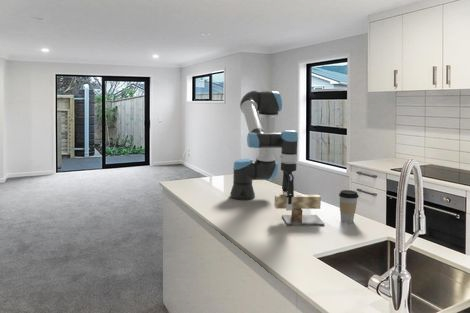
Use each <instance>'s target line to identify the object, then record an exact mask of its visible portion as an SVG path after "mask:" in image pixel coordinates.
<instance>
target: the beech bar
mask: <svg viewBox="0 0 470 313" xmlns="http://www.w3.org/2000/svg"><path fill="white" fill-rule="evenodd" d="M286 196H287V195H283V194H274V208H275V209H277V210H278V209H280V210H281V209H284V210H286V201H287V197H286ZM321 200H322V197H321V195H319V194H294V197H293V199H292V209H302V210H304V209H306V210H309V209H310V210H313V209H315V210H318V209H321V202H322V201H321Z"/></svg>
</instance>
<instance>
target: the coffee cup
mask: <svg viewBox="0 0 470 313" xmlns="http://www.w3.org/2000/svg"><path fill="white" fill-rule="evenodd" d="M338 196H339V211H340V213H339V214H340V221H341V222H342V223H345V224H351V223H354V218H355V213H356V209H357V204H358V199H359V196H360V195H359V194H358V192H357V191H356V190H349V189H343V190H340V192H339V193H338Z"/></svg>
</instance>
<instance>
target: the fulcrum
mask: <svg viewBox="0 0 470 313" xmlns="http://www.w3.org/2000/svg"><path fill="white" fill-rule="evenodd" d="M281 217H282V219H283V221H284V223H285V224H286V226H287V227H299V226H301V227H302V226H303V227H309V226H311V227H313V226H314V227H315V226H316V225H321V226H322V225H323V227H324V226H325V223H324V221H323V220H321V218H320V217H319V216H318V215H317V214H303V209H292V210H291V214H282V215H281ZM321 226H320V227H321ZM316 227H317V226H316Z"/></svg>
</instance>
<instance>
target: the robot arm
mask: <svg viewBox="0 0 470 313" xmlns="http://www.w3.org/2000/svg"><path fill="white" fill-rule="evenodd" d="M239 108H240V111H241V113H242V114H243V115H244V119H245V122H246V126H247V129H248V133H247V137H246V141H247V142H246V143H247V147H248V148H250V149H251V148H253V149H258V155H257V157H255V160H254V159H253V158H240V159H236V160H235V161H234V162H233V168H232V169H233V175H232V176H233V178H232V179H233V182H232V186H231V187H232V188H231V190H230V192H229V193H230V194H229V195H230V196H229V197H230V198H231V199H233V200H240V201H247V200H248V201H249V200H253V199H255V197H256V196H255V195H256V194H255V190H254V187H253V181H270V180H275V179H276V178H277V175H278V170H279V167H278V166H279V164H278V161H277V160H276V158H275V157H274V148H275V149H276V148H277V149H281V152H280V154H281V155H280V156H279V157H280V170H281V171H282V172H283V173H282V186H281V189H282V195H287V196H286V197H287V201H286V209H285V210H286V211H292V199H293V197H294V195H295V192H294V189H295V188H294V181H295V180H294V178H295V177H294V175H293V172H295V171H297V162H298V141H299V135H298V133H299V132H298V131H297V130H291V129H289V130H286V129H285V130H282V131H281V132H275V130H276V129H275V128H276V127H275V126H276V118H277V116H278V115H279V112H282V109H283V100H282V96H281V94H280V92H279V91H276V90H275V91H274V90H251V91H249V92H246V93H245V95H243V97H242V98H241V100H240V103H239Z"/></svg>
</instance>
